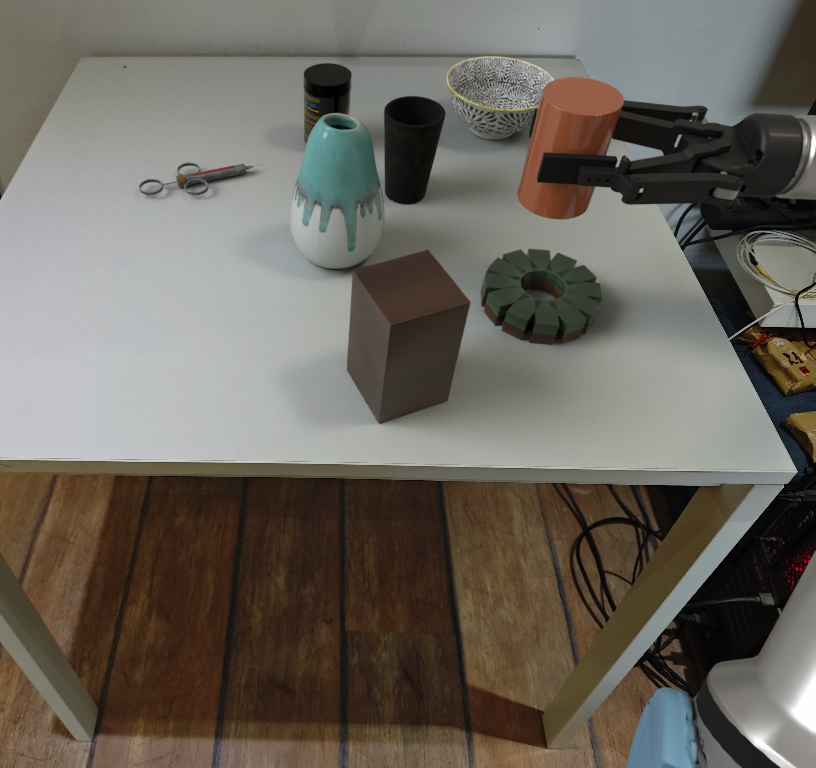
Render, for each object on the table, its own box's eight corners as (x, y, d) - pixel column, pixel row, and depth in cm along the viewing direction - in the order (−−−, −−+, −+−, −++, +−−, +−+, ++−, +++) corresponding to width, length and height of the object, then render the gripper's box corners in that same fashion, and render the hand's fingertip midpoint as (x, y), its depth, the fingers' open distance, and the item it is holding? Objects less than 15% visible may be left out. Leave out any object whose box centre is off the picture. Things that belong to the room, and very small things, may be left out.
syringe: (273, 184, 101) (272, 173, 100) (146, 210, 97) (143, 199, 96) (256, 155, 106) (256, 145, 104) (134, 179, 102) (132, 169, 100)
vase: (361, 215, 96) (370, 85, 82) (395, 269, 89) (411, 137, 75) (278, 233, 94) (273, 102, 80) (306, 289, 86) (306, 156, 73)
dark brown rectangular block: (447, 401, 75) (471, 301, 64) (378, 424, 73) (390, 325, 62) (412, 349, 80) (428, 249, 69) (346, 369, 78) (352, 269, 67)
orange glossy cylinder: (598, 218, 71) (635, 113, 63) (526, 221, 71) (554, 116, 63) (577, 177, 76) (609, 75, 68) (509, 180, 76) (533, 78, 68)
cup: (395, 170, 103) (403, 89, 94) (442, 188, 100) (456, 106, 91) (366, 196, 99) (372, 114, 90) (415, 215, 96) (426, 133, 87)
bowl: (566, 133, 109) (580, 85, 104) (494, 169, 103) (505, 120, 97) (488, 92, 118) (498, 46, 112) (417, 123, 111) (423, 76, 106)
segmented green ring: (617, 325, 82) (626, 306, 80) (520, 356, 79) (526, 337, 77) (551, 257, 90) (557, 238, 88) (460, 284, 87) (464, 264, 85)
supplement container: (335, 159, 105) (338, 90, 97) (295, 147, 107) (294, 79, 99) (356, 137, 109) (360, 69, 101) (316, 126, 111) (317, 59, 103)
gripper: (799, 256, 64) (537, 240, 66) (735, 136, 77) (518, 125, 79) (847, 184, 59) (559, 168, 60) (769, 67, 72) (534, 57, 73)
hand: (536, 144), depth 70 cm, fingers closed on orange glossy cylinder, 7 cm apart
